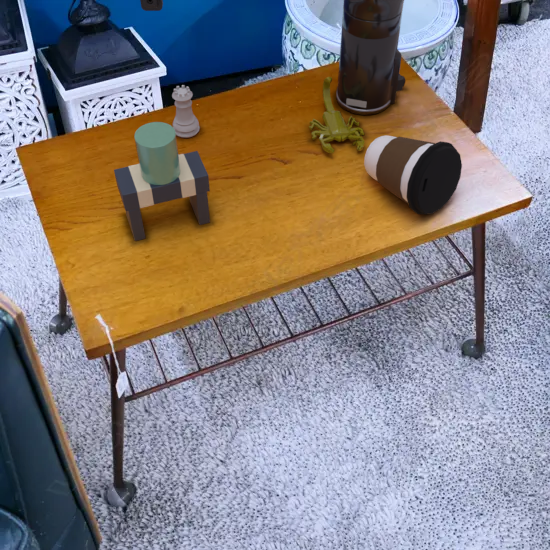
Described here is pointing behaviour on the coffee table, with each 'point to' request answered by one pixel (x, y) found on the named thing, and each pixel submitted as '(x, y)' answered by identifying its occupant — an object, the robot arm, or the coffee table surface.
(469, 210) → the coffee table surface
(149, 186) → the barricade
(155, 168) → the mint green cylinder
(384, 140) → the coffee cup
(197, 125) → the rook chess piece
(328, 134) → the scorpion
